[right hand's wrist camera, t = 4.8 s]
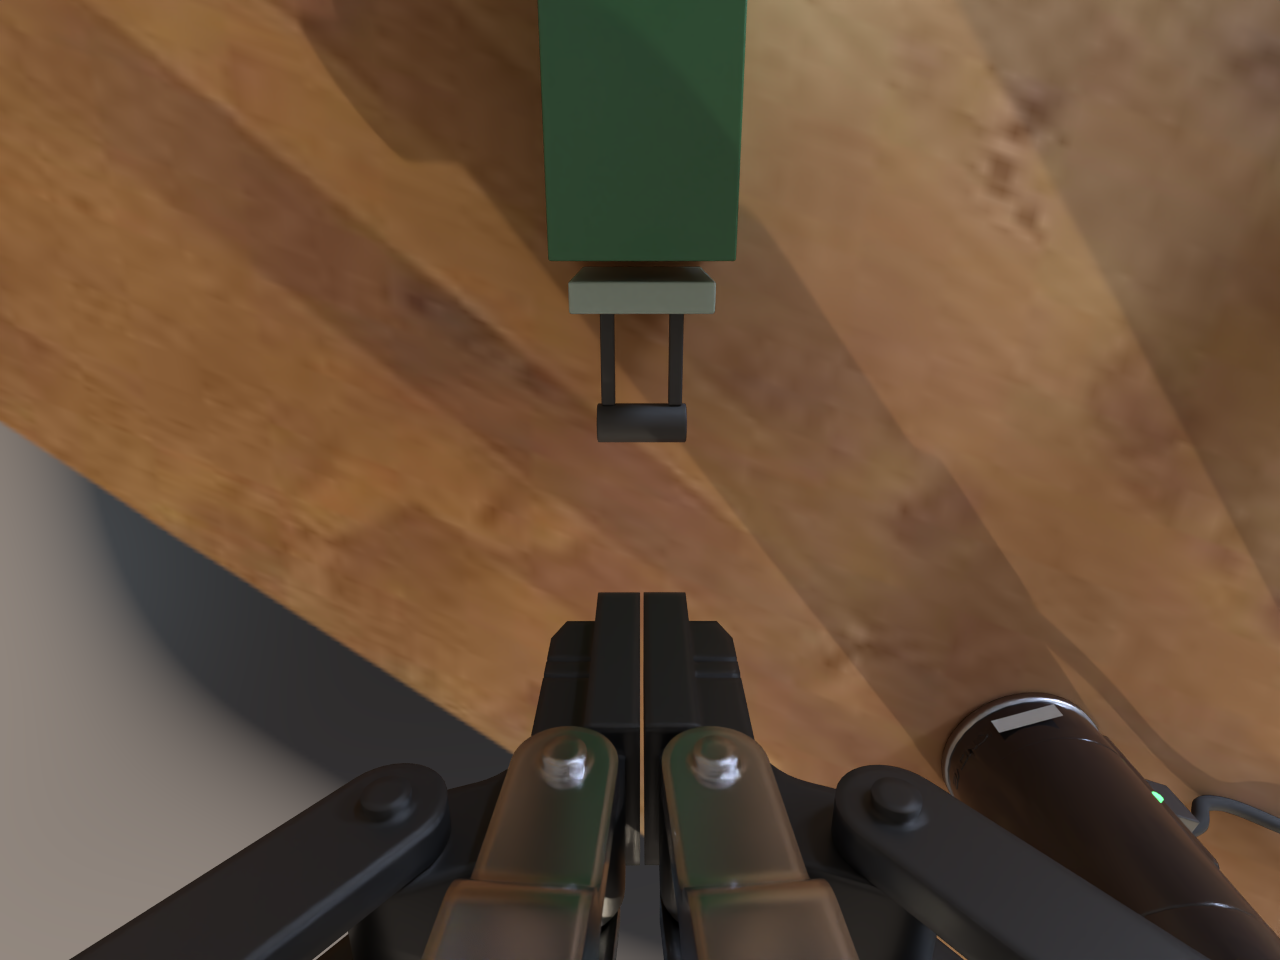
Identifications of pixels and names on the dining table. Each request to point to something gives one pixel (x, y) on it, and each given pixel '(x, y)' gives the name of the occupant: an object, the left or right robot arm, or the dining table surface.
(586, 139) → the cabinet
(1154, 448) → the dining table surface
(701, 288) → the drawer
